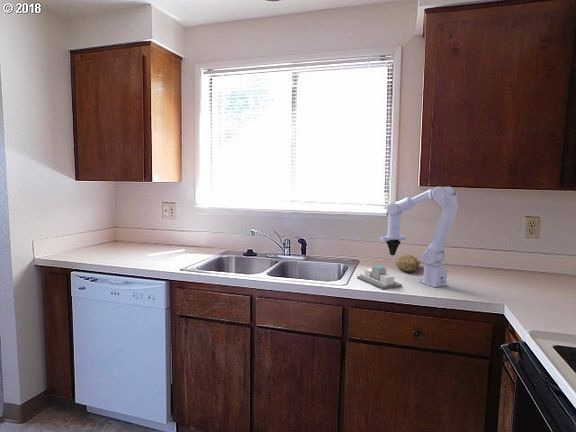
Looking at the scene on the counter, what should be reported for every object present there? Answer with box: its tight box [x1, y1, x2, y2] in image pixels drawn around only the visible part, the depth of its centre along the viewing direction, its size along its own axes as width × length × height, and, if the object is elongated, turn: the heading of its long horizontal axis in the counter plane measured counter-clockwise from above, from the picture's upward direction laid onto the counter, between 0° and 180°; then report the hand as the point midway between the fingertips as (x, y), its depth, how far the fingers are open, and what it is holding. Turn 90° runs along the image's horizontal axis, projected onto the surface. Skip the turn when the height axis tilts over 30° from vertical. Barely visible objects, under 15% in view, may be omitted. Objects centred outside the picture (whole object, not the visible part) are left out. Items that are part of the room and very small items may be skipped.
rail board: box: [356, 267, 403, 290], centre depth 167 cm, size 18×11×4 cm, turn 25°
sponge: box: [395, 254, 421, 273], centre depth 193 cm, size 13×8×20 cm
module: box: [371, 265, 387, 281], centre depth 167 cm, size 5×4×6 cm
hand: (392, 254), depth 182 cm, fingers closed
